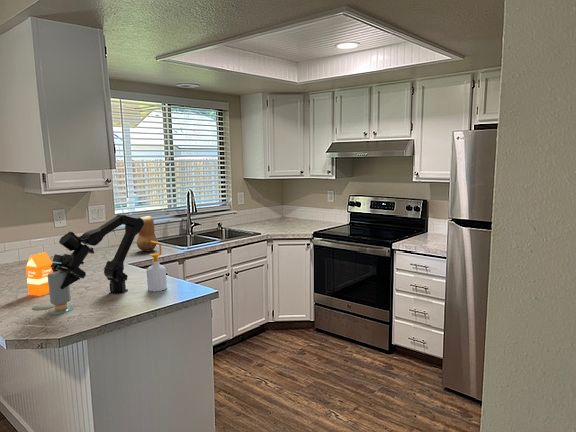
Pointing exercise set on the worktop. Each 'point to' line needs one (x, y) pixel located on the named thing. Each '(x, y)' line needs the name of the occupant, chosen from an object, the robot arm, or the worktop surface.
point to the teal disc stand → (60, 308)
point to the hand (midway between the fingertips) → (55, 287)
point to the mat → (43, 306)
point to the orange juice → (38, 274)
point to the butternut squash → (147, 235)
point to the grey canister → (58, 288)
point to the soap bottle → (156, 273)
